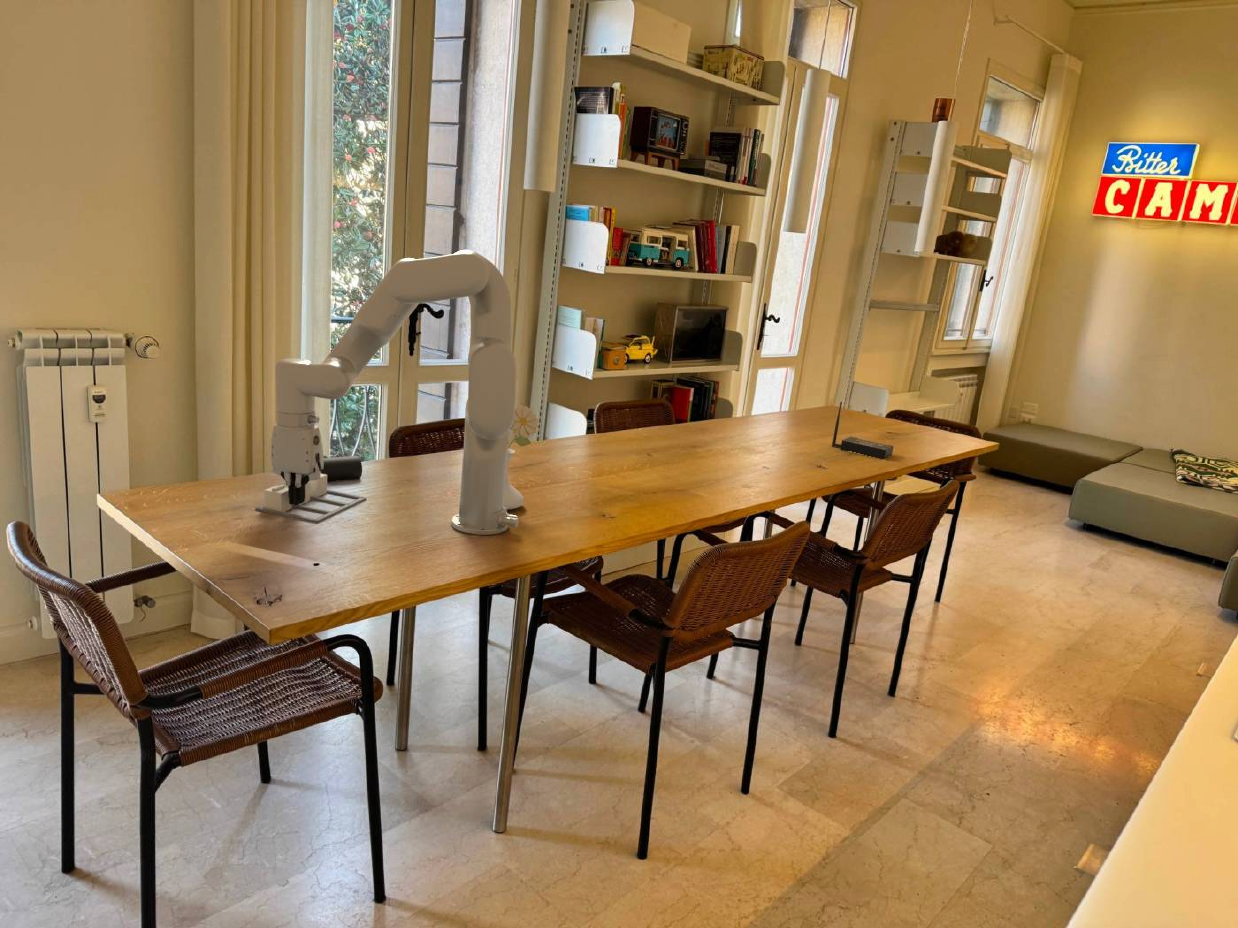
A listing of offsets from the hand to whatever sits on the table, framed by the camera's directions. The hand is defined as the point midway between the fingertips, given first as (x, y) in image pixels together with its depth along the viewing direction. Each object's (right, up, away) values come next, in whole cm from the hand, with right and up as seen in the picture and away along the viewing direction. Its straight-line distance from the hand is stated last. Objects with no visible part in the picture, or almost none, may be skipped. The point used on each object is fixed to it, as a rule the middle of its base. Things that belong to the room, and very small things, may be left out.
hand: (297, 502), depth 185 cm
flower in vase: (+41, -2, +24) cm, 47 cm away
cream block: (-4, -1, +1) cm, 5 cm away
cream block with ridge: (-3, 0, +7) cm, 8 cm away
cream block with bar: (-1, +1, +13) cm, 14 cm away
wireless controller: (+156, +12, +130) cm, 203 cm away
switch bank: (-1, -2, +7) cm, 8 cm away
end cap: (0, +3, +27) cm, 28 cm away
